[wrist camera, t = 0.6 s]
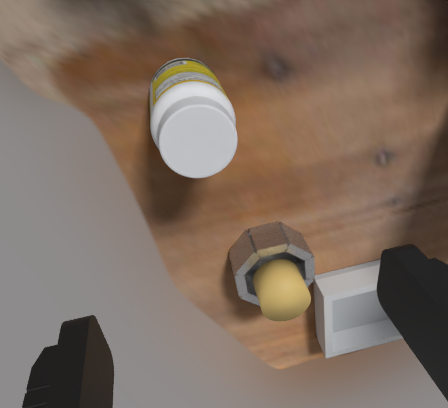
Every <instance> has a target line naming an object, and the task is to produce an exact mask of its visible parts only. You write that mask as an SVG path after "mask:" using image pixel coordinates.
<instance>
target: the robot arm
mask: <svg viewBox="0 0 448 408" xmlns="http://www.w3.org/2000/svg"><path fill="white" fill-rule="evenodd" d="M377 296H378V300H379V302H380V305H381V307H382V308H383V310H384V311H385V313H386V314H387V316H388V317H389V319H390V320H391V321H392V323H393V324H394V326H395V327H396V328H397V330H398V331H399V333H400V334H401V336H402V337H403V338H404V340H405V341H406V342H407V344H408V345H409V347H410V348H411V350H412V351H413V353H414V354H415V355H416V357H417V358H418V360H419V361H420V362H421V364H422V365H423V367H424V368H425V370H426V371H427V372H428V374H429V375H430V377H431V378H432V380H433V381H434V382H435V384H436V385H437V387H438V388H439V389H440V391H441V392H442V394H443V395H444V397H445V398H446V399H447V401H448V265H447V264H445V263H443V262H441V261H440V260H438V259H436V258H432V259H428V258H427V257H426V256H425V255H424V254H423V253H422V252H421V251H420V250H419V249H418V248H417V247H416V246H414V245H412V244H407V245H403V246H399V247H394V248H390V249H385V250H384V251H383V252H382V255H381V261H380V268H379V275H378V281H377ZM113 384H114V365H113V359H112V354H111V351H110V348H109V346H108V344H107V341H106V339H105V337H104V335H103V333H102V330H101V328H100V326H99V324H98V321H97V319H96V317H95V316H94V315H91V316H87V317H83V318H78V319H74V320H70V321H65V322H63V323H62V326H61V329H60V334H59V339H58V345H54V346H50V347H46V348H44V349H43V351H42V353H41V354H40V356H39V357H38V359H37V361H36V362H35V364H34V365H33V367H32V369H31V373H30V377H29V381H28V385H27V393H26V394H25V397H24V401H23V406H22V408H112V405H113Z"/></svg>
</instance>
